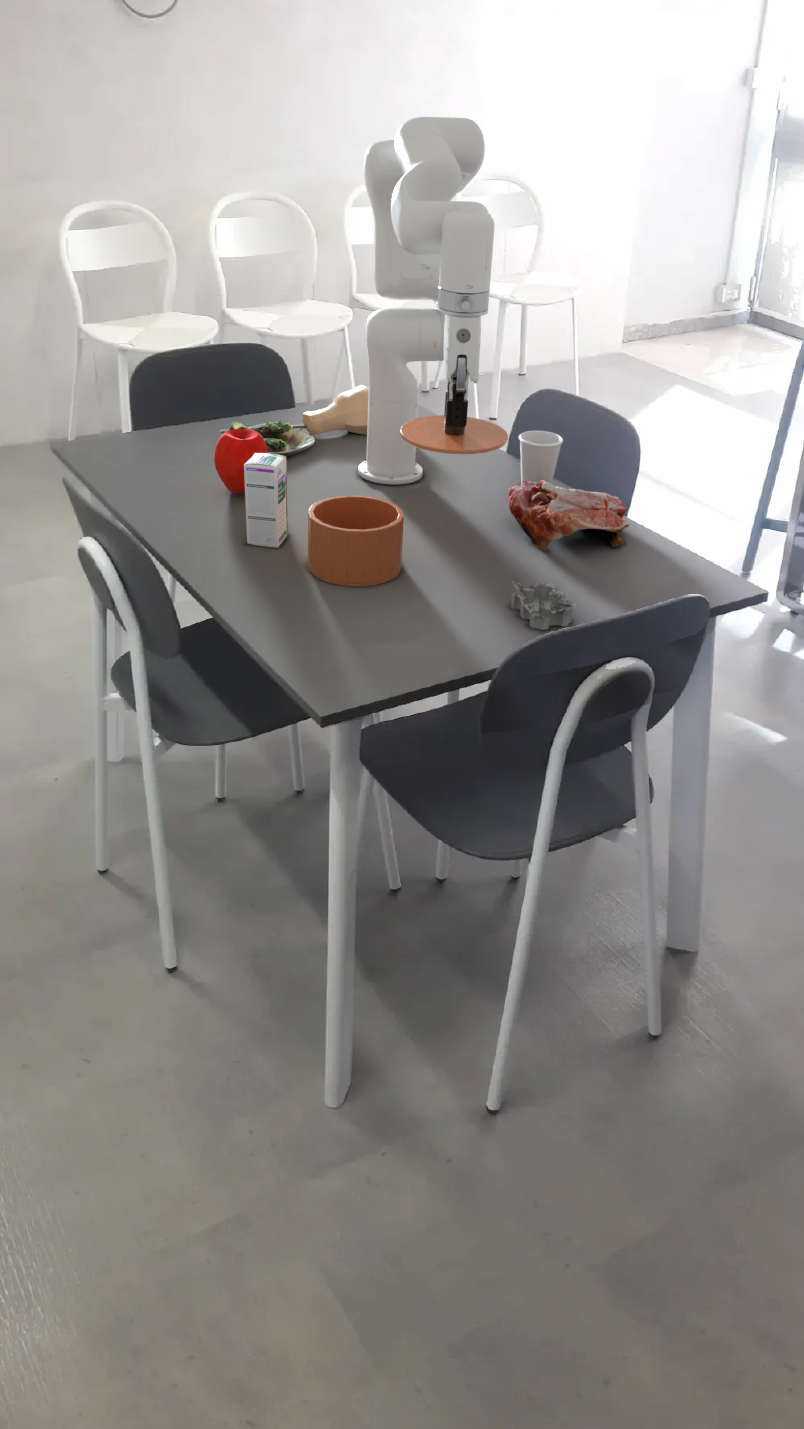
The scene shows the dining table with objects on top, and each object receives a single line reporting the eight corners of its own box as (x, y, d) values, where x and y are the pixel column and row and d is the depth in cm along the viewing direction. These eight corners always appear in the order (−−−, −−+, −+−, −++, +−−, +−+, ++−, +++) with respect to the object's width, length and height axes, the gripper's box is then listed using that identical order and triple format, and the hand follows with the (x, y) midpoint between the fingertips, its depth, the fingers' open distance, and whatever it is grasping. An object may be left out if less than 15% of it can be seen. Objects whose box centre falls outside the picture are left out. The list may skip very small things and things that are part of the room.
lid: (399, 420, 204) (401, 373, 200) (502, 424, 205) (506, 377, 201) (401, 456, 190) (403, 406, 186) (512, 460, 191) (516, 410, 187)
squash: (403, 434, 268) (404, 396, 262) (317, 454, 261) (316, 416, 255) (380, 410, 275) (381, 373, 269) (296, 430, 268) (295, 392, 262)
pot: (309, 546, 214) (309, 494, 209) (399, 549, 215) (402, 496, 210) (306, 585, 201) (306, 529, 196) (402, 587, 202) (405, 532, 197)
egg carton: (505, 602, 199) (507, 578, 197) (549, 598, 201) (552, 574, 199) (531, 632, 190) (534, 608, 188) (577, 627, 192) (580, 603, 190)
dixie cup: (506, 482, 245) (511, 432, 240) (544, 478, 248) (549, 428, 243) (527, 497, 238) (532, 446, 233) (565, 493, 241) (571, 442, 236)
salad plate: (280, 423, 269) (280, 402, 267) (336, 446, 259) (337, 424, 256) (207, 441, 257) (206, 419, 255) (262, 466, 247) (262, 443, 244)
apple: (234, 506, 228) (232, 441, 222) (204, 489, 235) (201, 426, 228) (279, 494, 234) (278, 430, 228) (248, 479, 240) (246, 416, 234)
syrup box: (278, 548, 213) (278, 466, 205) (245, 544, 214) (243, 462, 206) (288, 535, 218) (287, 455, 210) (255, 531, 219) (253, 451, 211)
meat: (560, 500, 238) (566, 449, 233) (650, 535, 225) (658, 482, 220) (483, 526, 226) (488, 472, 220) (574, 565, 213) (581, 509, 207)
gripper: (493, 315, 180) (483, 440, 189) (484, 289, 194) (475, 406, 203) (440, 313, 179) (433, 438, 189) (435, 287, 193) (428, 405, 203)
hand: (455, 420), depth 196 cm, fingers closed on lid, 3 cm apart
